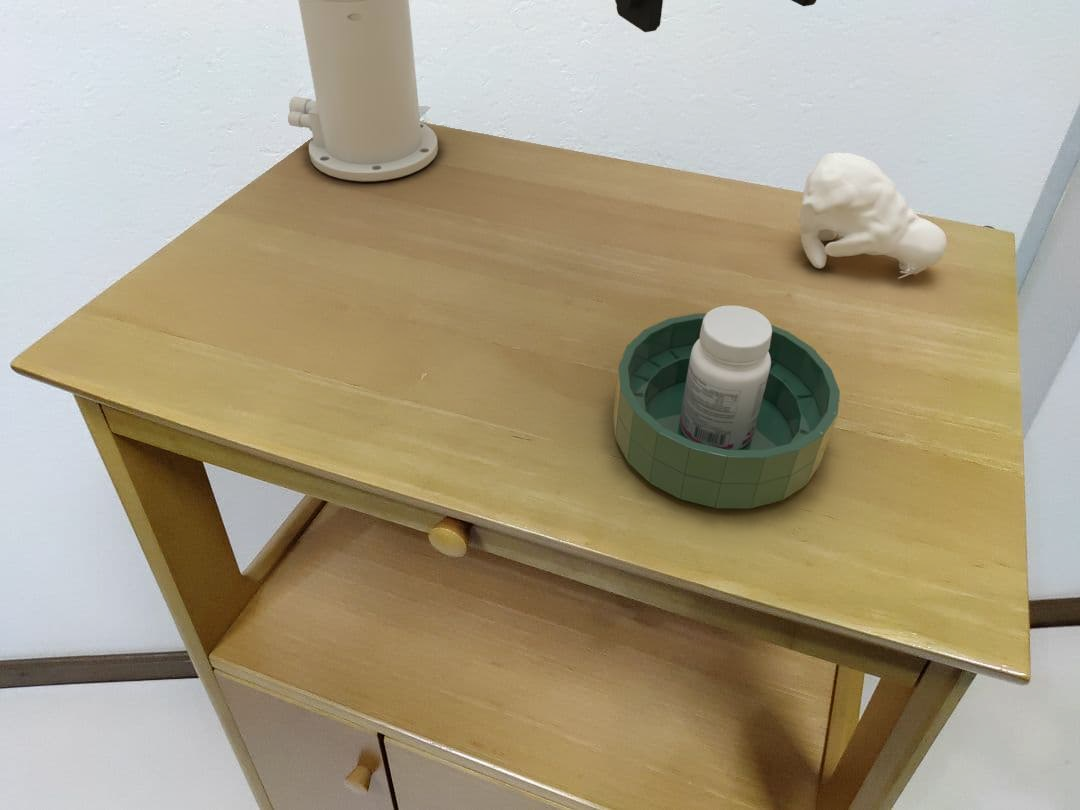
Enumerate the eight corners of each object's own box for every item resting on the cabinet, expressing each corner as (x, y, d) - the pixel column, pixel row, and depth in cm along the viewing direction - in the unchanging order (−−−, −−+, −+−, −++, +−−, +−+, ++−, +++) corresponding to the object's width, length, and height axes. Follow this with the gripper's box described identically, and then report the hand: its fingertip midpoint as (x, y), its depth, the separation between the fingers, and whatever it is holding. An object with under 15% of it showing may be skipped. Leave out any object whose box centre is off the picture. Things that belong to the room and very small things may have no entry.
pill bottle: (724, 395, 55) (747, 292, 50) (768, 441, 52) (797, 337, 47) (664, 416, 54) (680, 312, 48) (705, 464, 51) (728, 360, 45)
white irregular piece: (825, 132, 66) (978, 176, 64) (792, 222, 72) (930, 266, 70) (809, 165, 62) (971, 214, 59) (775, 258, 68) (921, 306, 65)
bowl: (589, 483, 50) (593, 425, 47) (639, 353, 60) (646, 297, 56) (809, 539, 47) (831, 481, 44) (826, 393, 57) (845, 336, 53)
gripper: (898, -454, 36) (802, -31, 48) (545, -479, 30) (536, 8, 42) (1039, -461, 31) (894, 11, 43) (651, -492, 26) (607, 61, 38)
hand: (717, 9), depth 43 cm, fingers open, 9 cm apart
